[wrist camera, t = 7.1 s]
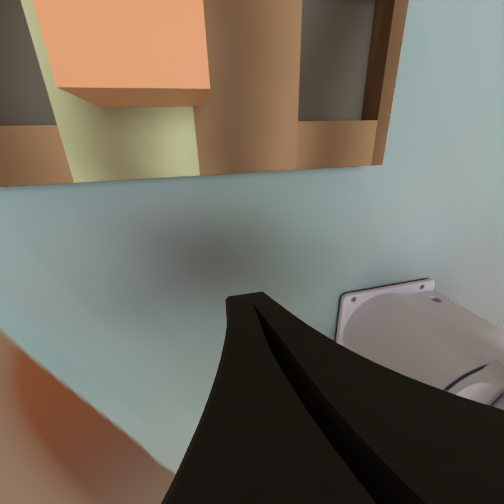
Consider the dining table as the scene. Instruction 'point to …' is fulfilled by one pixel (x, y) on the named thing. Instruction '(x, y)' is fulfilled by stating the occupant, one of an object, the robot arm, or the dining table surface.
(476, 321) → the robot arm
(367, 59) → the board
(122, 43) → the block
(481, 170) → the dining table surface
